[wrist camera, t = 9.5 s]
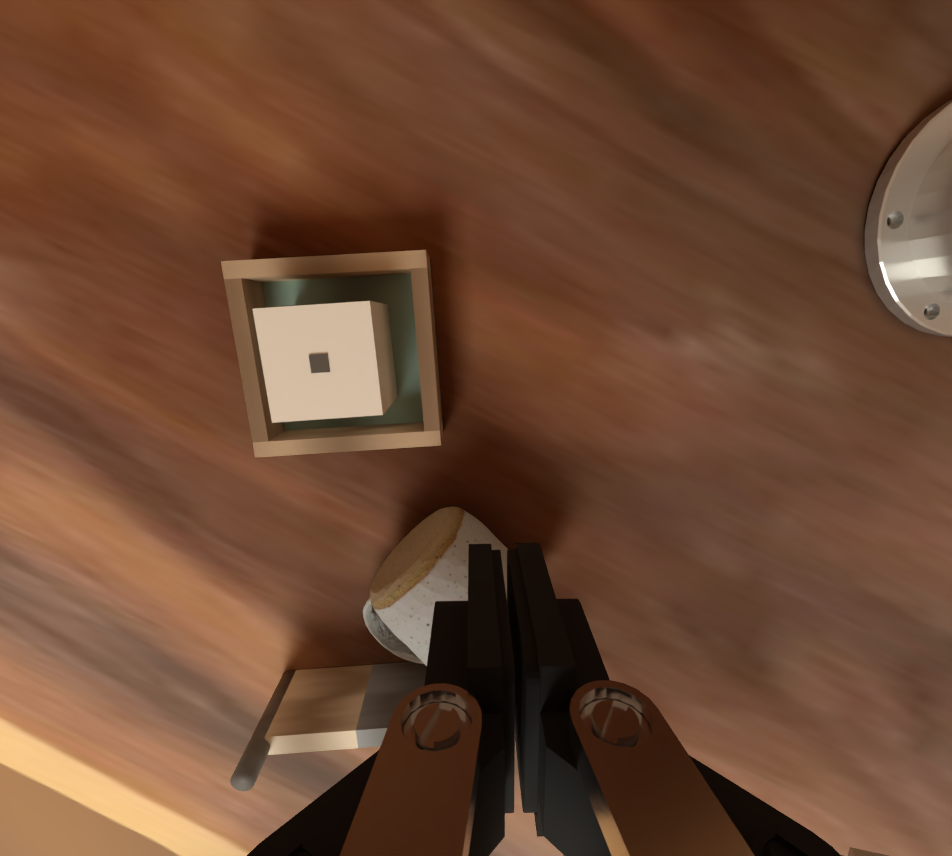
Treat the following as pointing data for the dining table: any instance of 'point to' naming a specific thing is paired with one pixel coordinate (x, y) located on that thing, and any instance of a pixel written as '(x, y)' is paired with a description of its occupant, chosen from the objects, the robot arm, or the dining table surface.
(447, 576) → the ceramic mug
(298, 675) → the scoring rail
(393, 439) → the felt tray
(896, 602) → the dining table surface
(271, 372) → the die
